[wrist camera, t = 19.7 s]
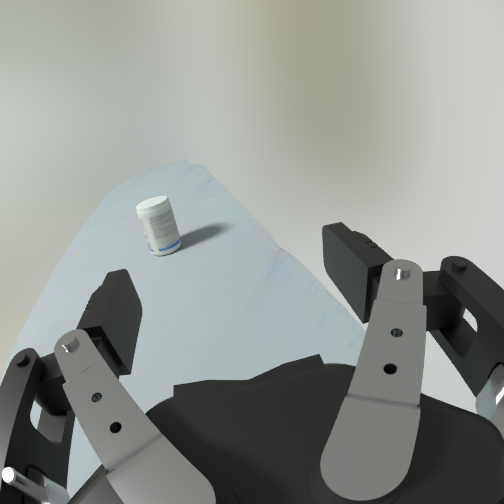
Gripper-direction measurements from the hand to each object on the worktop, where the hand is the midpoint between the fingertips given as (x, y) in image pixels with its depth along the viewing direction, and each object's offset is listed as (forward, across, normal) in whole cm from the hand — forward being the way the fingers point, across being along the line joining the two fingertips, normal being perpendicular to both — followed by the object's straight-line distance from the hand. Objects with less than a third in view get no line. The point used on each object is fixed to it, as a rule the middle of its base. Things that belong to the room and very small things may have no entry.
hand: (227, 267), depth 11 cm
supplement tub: (+67, +18, +28) cm, 75 cm away
